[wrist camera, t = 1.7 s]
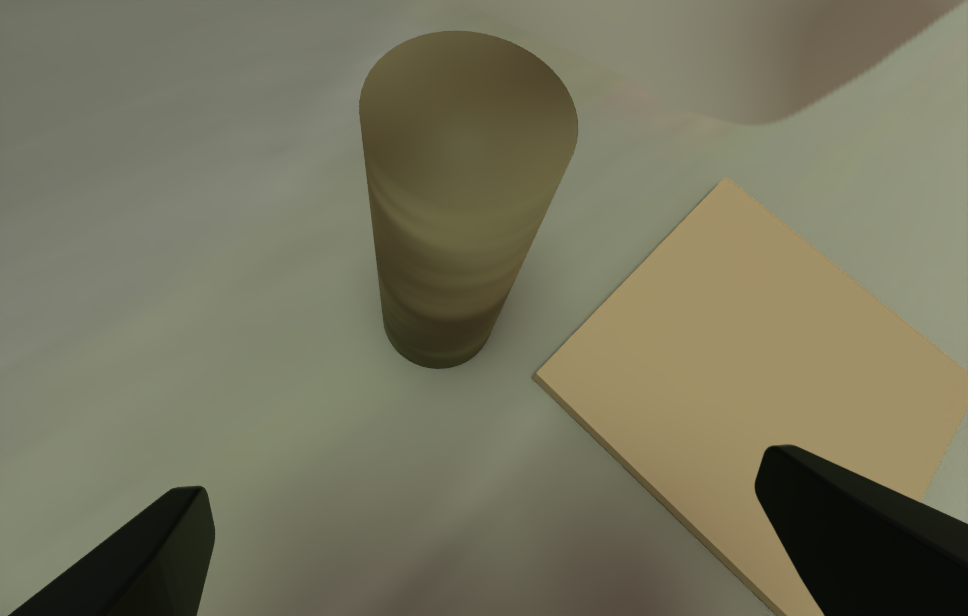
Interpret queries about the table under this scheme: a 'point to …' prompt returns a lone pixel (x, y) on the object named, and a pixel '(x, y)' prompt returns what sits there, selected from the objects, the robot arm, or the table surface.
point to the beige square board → (753, 381)
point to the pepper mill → (458, 182)
